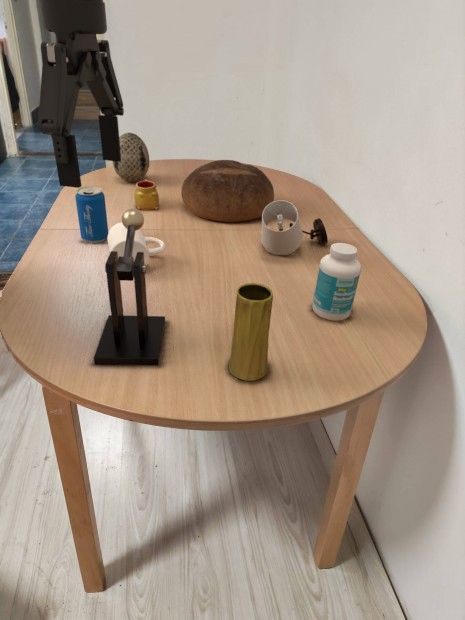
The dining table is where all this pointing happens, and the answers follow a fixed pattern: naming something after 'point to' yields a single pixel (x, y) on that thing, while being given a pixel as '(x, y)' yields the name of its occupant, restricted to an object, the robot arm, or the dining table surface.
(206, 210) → the bread
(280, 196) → the dining table surface
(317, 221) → the light fixture
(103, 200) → the beverage can
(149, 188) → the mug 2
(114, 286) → the stand
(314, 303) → the pill bottle
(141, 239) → the mug
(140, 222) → the lever
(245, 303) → the vase
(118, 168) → the decorative egg
